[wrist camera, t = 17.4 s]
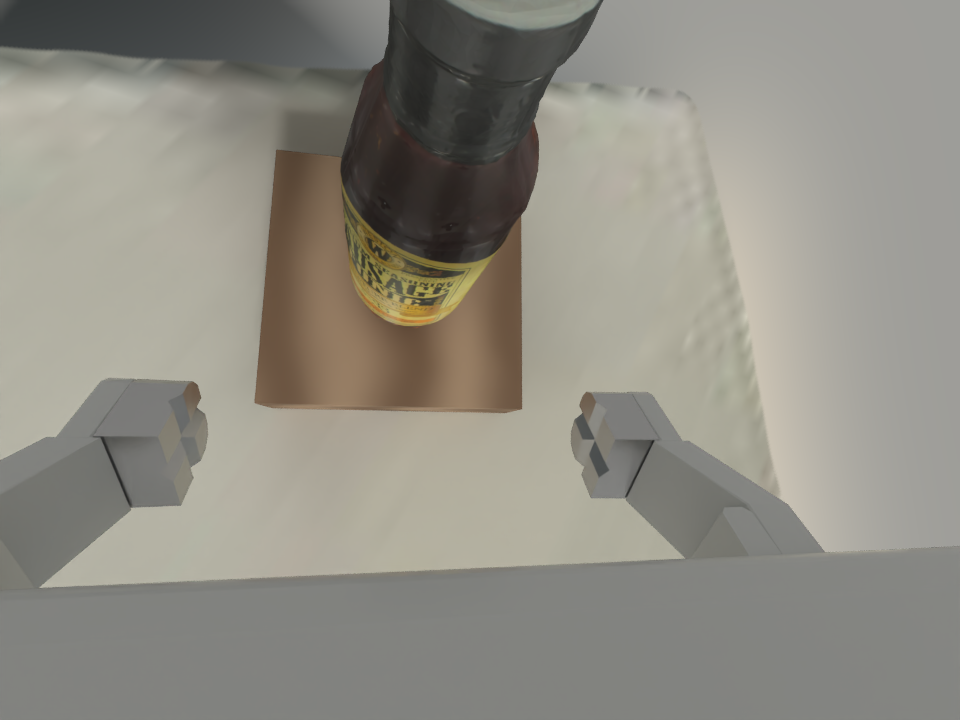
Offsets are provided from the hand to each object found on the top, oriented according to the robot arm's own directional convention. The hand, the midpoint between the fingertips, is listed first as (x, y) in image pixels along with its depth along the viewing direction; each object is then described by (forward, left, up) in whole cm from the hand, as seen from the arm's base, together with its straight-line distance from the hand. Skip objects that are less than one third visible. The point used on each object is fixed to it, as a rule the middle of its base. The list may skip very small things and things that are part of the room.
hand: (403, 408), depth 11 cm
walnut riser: (0, +8, -20) cm, 21 cm away
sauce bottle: (+1, +8, -16) cm, 18 cm away
